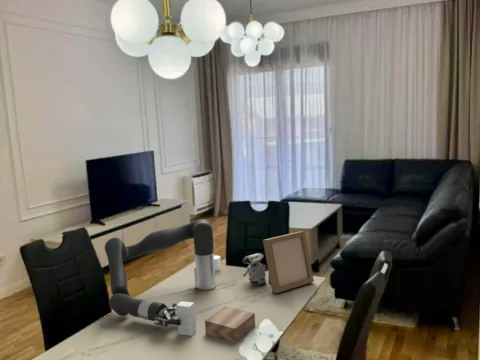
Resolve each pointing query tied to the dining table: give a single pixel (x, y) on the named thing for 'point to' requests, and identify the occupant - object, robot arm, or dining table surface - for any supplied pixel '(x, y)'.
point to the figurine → (255, 268)
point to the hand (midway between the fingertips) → (186, 317)
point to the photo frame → (288, 261)
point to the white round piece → (217, 262)
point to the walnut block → (230, 324)
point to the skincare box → (186, 318)
